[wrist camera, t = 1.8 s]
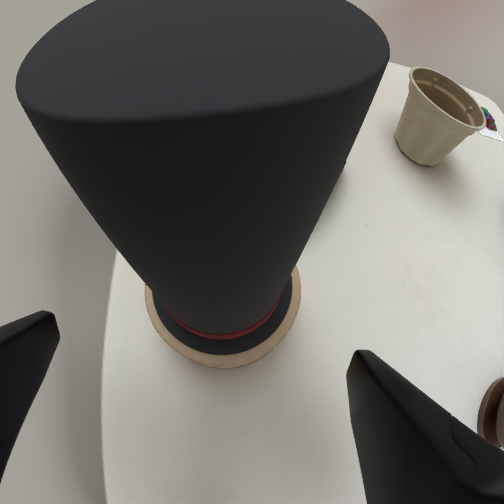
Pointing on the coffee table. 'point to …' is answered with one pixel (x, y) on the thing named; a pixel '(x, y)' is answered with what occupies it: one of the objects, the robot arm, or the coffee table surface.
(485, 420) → the stand
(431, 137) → the flower pot
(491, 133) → the multicoloured piece
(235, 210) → the top hat
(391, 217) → the coffee table surface
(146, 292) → the hat box
